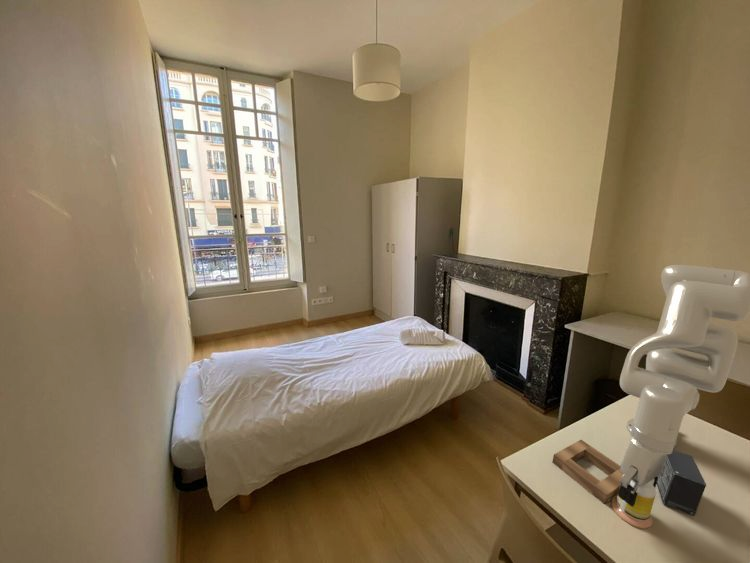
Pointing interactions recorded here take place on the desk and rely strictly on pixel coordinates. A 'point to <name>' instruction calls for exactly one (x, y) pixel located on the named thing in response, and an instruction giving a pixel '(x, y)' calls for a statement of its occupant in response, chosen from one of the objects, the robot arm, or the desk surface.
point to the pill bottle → (639, 501)
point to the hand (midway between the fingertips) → (636, 492)
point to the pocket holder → (596, 487)
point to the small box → (681, 483)
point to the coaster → (628, 519)
